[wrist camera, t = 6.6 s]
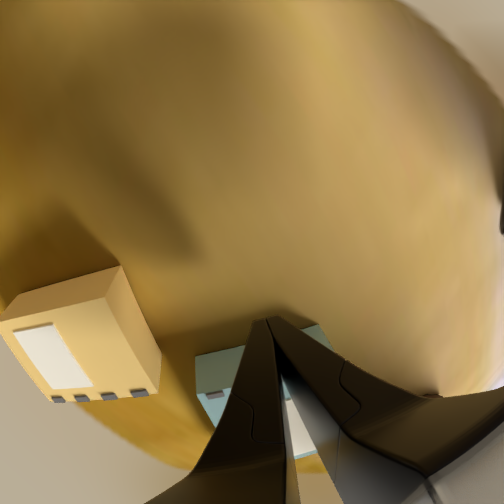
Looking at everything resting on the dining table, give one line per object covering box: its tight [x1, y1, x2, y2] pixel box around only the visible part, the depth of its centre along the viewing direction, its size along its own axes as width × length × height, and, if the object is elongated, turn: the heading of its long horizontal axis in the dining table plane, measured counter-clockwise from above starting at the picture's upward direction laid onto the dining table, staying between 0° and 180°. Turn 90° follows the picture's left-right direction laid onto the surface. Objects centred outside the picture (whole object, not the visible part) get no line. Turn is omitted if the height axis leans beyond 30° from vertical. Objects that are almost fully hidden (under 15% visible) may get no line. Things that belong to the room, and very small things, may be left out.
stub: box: [0, 265, 162, 403], centre depth 10 cm, size 6×5×2 cm
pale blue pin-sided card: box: [195, 324, 335, 459], centre depth 14 cm, size 6×9×2 cm, turn 11°
